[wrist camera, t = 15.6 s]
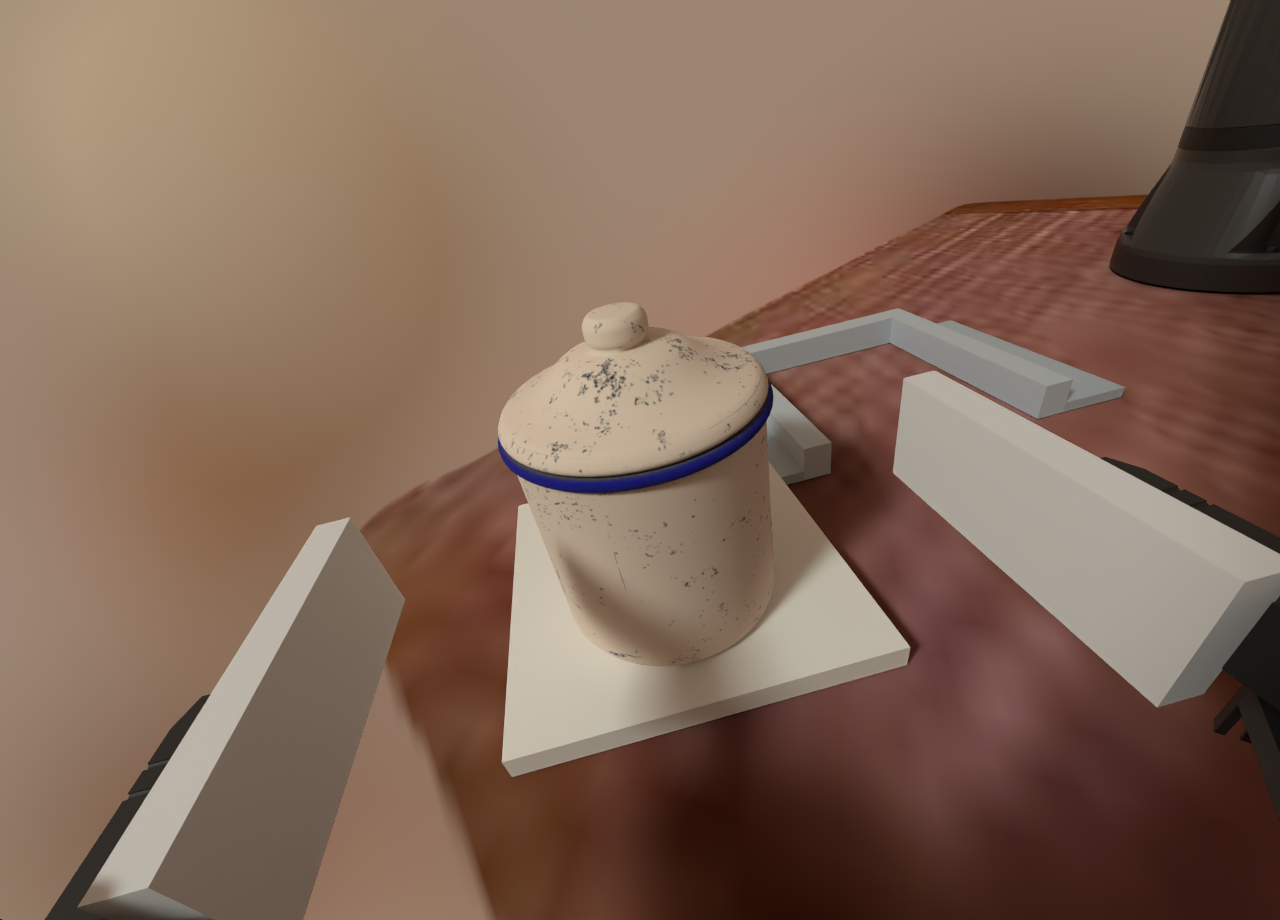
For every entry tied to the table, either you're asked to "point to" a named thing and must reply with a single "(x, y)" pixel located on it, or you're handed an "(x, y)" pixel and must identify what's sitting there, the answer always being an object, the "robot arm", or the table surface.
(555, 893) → the table surface
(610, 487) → the teacup with lid
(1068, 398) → the cradle
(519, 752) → the mat
